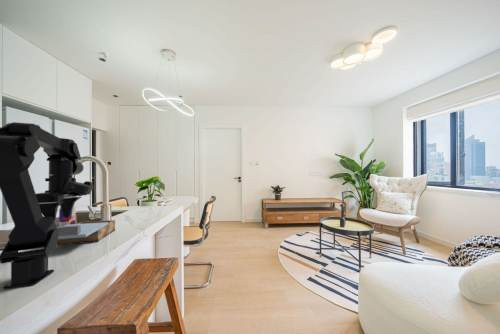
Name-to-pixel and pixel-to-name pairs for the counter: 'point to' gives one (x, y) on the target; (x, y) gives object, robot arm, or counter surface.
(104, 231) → the box
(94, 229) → the lid
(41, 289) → the counter surface
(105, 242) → the counter surface
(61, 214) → the energy drink
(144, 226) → the counter surface
